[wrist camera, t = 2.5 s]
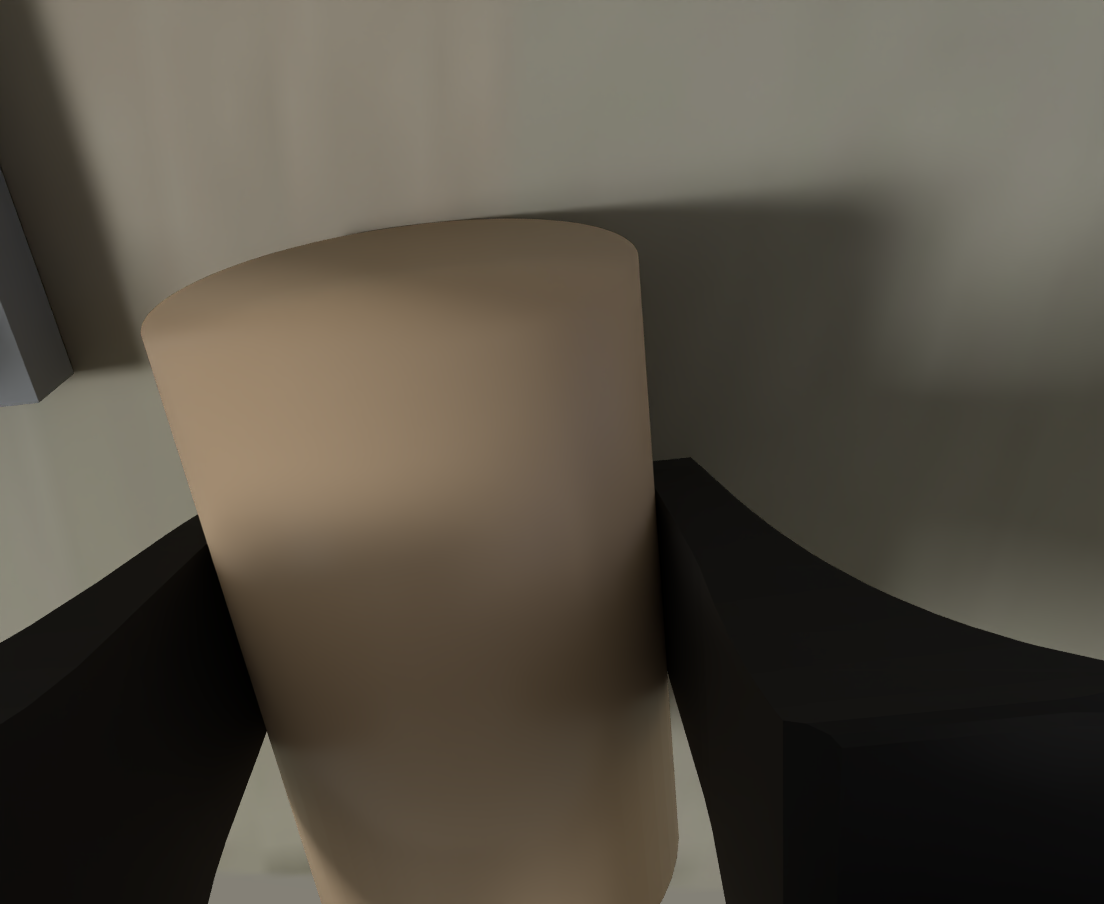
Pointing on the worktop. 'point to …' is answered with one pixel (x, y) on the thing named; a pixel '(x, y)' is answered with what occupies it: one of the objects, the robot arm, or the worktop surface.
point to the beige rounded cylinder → (440, 552)
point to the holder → (25, 319)
